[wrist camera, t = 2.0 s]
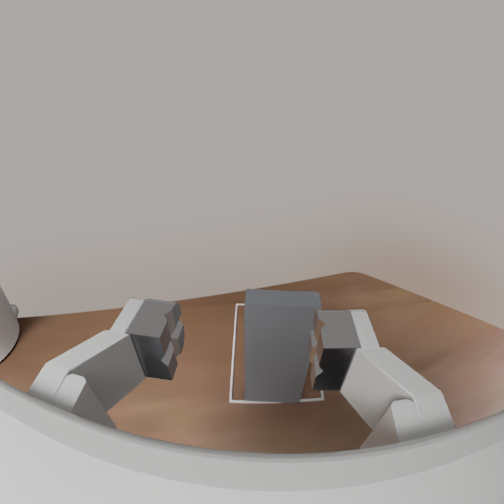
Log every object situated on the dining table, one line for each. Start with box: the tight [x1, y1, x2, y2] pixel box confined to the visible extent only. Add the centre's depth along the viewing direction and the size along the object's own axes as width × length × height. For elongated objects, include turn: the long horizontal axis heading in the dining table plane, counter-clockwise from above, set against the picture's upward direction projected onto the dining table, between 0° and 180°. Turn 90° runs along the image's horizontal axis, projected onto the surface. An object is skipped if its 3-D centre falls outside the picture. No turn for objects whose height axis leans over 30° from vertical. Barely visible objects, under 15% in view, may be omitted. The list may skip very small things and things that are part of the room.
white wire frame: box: [229, 304, 324, 403], centre depth 36 cm, size 11×1×18 cm
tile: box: [244, 289, 322, 403], centre depth 26 cm, size 6×2×14 cm, turn 86°
